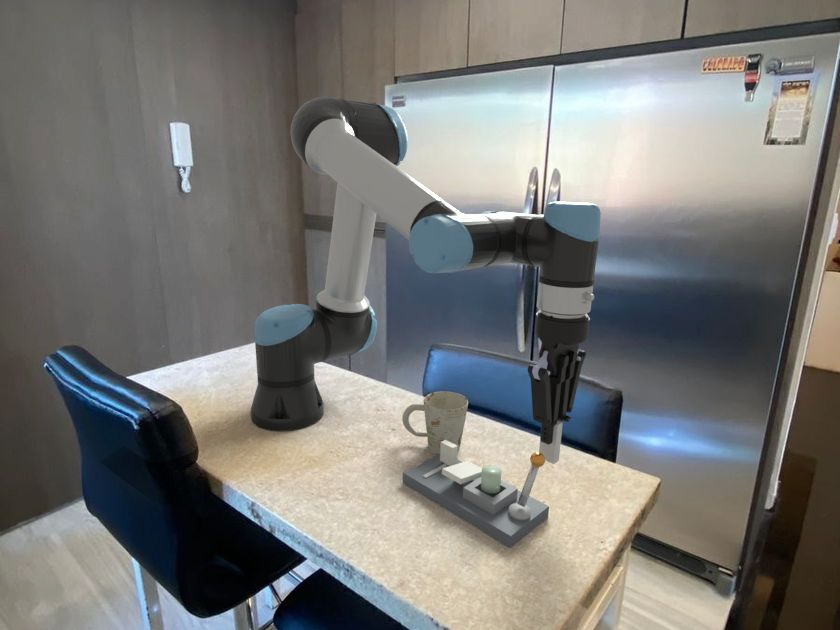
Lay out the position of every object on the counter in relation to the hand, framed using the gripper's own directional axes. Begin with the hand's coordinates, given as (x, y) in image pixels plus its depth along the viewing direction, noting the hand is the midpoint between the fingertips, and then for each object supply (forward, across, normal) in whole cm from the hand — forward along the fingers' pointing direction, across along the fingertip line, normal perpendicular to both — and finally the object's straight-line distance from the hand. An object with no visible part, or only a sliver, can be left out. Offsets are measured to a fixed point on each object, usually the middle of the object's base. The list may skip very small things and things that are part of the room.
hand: (548, 458), depth 80 cm
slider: (+6, -5, +16) cm, 18 cm away
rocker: (+5, -7, +11) cm, 14 cm away
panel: (+8, -7, +9) cm, 14 cm away
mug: (+9, +1, +25) cm, 26 cm away
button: (+5, -7, +6) cm, 10 cm away
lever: (+5, -7, 0) cm, 9 cm away
